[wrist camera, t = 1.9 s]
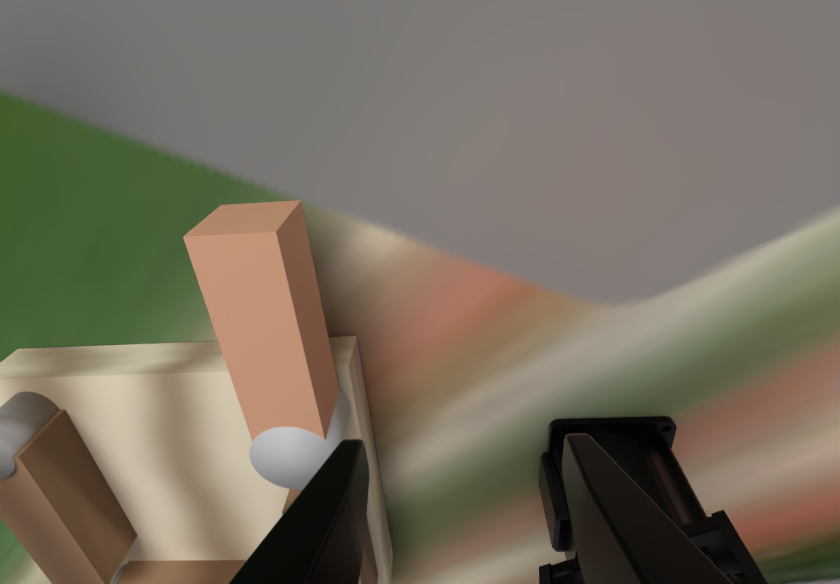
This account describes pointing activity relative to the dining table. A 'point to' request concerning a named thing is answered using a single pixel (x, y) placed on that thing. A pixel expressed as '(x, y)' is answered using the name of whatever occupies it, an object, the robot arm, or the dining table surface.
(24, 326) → the dining table surface
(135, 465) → the flat cream base board
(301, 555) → the robot arm
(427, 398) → the dining table surface
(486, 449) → the dining table surface
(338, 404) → the hinged leg
